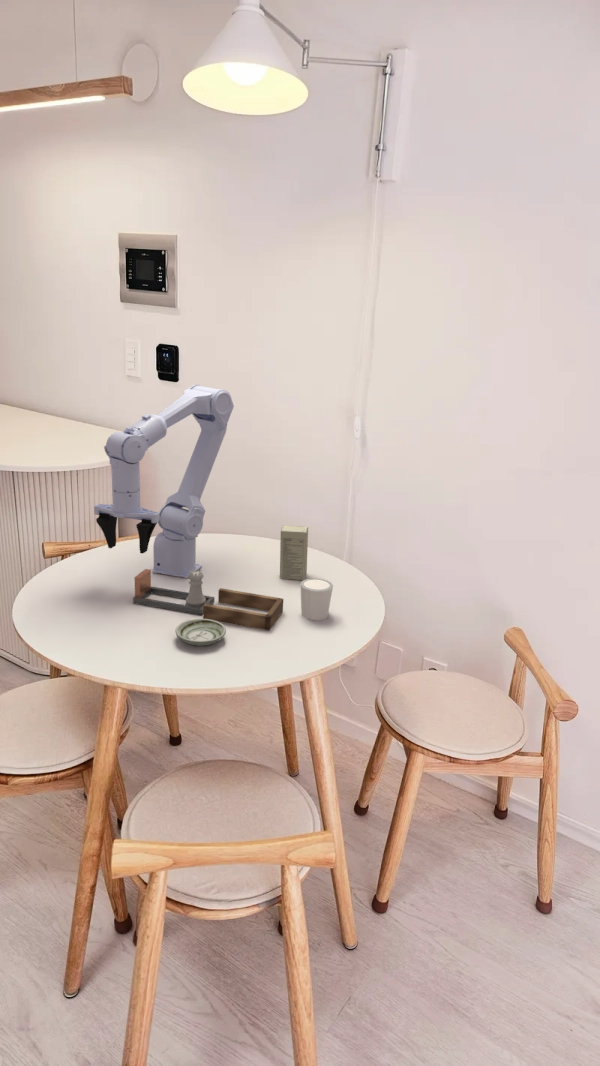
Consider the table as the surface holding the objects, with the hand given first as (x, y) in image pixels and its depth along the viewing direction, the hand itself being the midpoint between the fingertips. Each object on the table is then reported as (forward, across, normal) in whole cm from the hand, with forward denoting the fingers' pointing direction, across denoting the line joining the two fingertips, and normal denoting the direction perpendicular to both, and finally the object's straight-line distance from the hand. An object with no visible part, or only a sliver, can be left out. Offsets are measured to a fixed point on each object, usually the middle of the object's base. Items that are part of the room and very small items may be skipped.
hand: (127, 549), depth 152 cm
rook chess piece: (+10, +17, -3) cm, 20 cm away
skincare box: (+10, +32, +21) cm, 39 cm away
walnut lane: (+9, +28, -3) cm, 30 cm away
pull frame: (+9, +12, -3) cm, 16 cm away
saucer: (+10, +24, -16) cm, 30 cm away
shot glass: (+10, +42, +3) cm, 43 cm away
